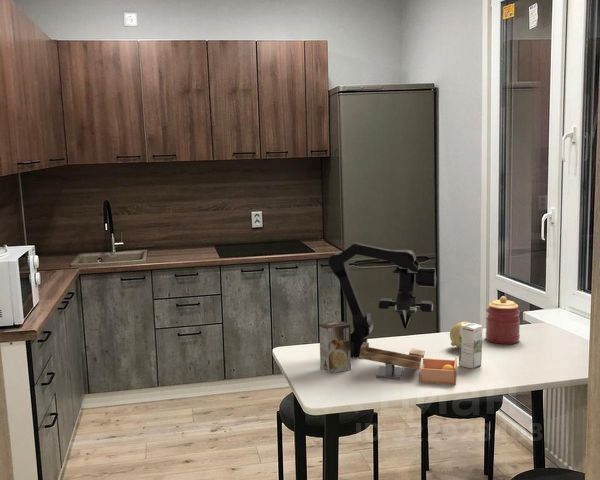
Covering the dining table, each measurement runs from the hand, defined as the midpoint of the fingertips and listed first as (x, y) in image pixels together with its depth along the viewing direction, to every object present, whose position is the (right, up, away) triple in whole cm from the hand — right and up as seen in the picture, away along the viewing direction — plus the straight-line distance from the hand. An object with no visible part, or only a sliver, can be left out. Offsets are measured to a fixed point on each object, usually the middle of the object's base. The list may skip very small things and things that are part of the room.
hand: (405, 328), depth 231 cm
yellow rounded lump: (+25, -10, +13) cm, 30 cm away
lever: (-6, -8, -10) cm, 14 cm away
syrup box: (+21, -12, -7) cm, 26 cm away
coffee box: (-26, -13, -8) cm, 30 cm away
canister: (+42, -8, +24) cm, 49 cm away
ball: (+11, -11, -19) cm, 25 cm away
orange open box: (+8, -14, -18) cm, 24 cm away
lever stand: (-8, -14, -14) cm, 21 cm away
